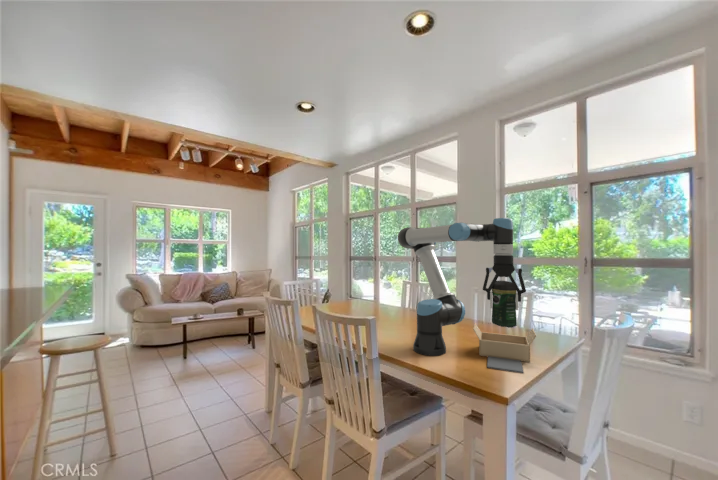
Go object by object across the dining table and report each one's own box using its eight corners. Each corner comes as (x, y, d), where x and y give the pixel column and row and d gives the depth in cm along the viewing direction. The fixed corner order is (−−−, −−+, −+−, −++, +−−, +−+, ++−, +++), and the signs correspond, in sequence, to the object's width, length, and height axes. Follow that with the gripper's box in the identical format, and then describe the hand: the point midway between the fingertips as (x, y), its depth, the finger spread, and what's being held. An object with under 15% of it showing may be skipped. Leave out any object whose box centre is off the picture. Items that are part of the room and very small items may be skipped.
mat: (487, 367, 123) (487, 366, 123) (487, 357, 135) (487, 356, 135) (523, 373, 118) (523, 371, 118) (520, 361, 129) (520, 360, 129)
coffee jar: (520, 328, 123) (520, 281, 123) (502, 328, 121) (502, 282, 122) (505, 322, 132) (505, 279, 133) (488, 322, 131) (488, 279, 131)
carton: (473, 354, 138) (473, 329, 139) (475, 345, 152) (475, 322, 152) (537, 363, 128) (536, 336, 128) (533, 352, 142) (532, 327, 142)
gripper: (475, 254, 129) (475, 308, 128) (534, 255, 120) (534, 312, 119) (476, 254, 135) (476, 305, 135) (531, 254, 127) (532, 309, 126)
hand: (503, 308), depth 127 cm, fingers closed on coffee jar, 9 cm apart
